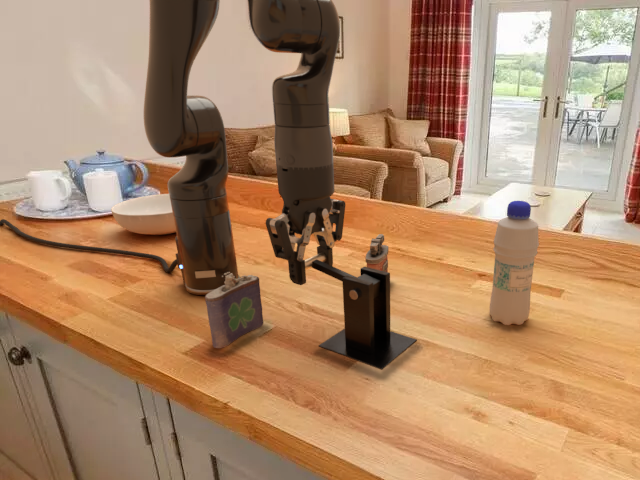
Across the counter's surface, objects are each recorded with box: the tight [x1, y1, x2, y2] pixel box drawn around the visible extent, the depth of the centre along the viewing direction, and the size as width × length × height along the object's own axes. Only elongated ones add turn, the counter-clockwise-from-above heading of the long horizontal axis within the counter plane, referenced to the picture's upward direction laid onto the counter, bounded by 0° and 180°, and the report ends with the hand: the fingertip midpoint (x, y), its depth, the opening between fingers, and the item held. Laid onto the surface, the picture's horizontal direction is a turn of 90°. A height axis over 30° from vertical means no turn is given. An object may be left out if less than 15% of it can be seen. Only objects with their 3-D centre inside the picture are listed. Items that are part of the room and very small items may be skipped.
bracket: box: [318, 266, 418, 370], centre depth 69 cm, size 11×9×12 cm
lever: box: [304, 253, 380, 299], centre depth 69 cm, size 12×5×2 cm, turn 59°
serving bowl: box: [110, 193, 176, 236], centre depth 122 cm, size 21×21×7 cm
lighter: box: [364, 233, 390, 272], centre depth 89 cm, size 8×3×10 cm, turn 168°
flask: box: [204, 272, 264, 349], centre depth 71 cm, size 9×3×11 cm, turn 151°
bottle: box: [489, 200, 540, 326], centre depth 75 cm, size 7×7×20 cm
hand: (312, 276), depth 72 cm, fingers closed on lever, 5 cm apart
